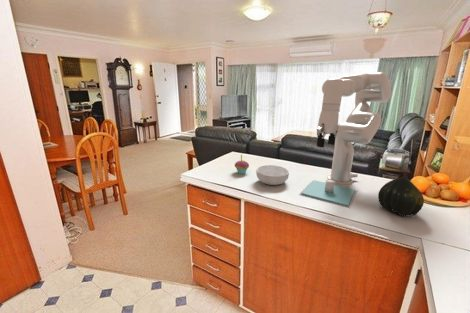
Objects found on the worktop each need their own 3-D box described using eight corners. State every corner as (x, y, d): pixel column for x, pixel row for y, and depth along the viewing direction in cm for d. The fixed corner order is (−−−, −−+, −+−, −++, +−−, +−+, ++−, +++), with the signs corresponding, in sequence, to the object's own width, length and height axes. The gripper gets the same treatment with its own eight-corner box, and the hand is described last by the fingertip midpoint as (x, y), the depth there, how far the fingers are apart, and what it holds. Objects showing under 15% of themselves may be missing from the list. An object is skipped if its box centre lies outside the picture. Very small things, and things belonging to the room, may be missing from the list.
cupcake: (247, 175, 134) (248, 155, 130) (233, 174, 135) (233, 154, 132) (249, 170, 142) (250, 151, 138) (235, 169, 143) (236, 150, 140)
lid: (313, 181, 125) (315, 171, 124) (355, 190, 114) (357, 179, 113) (301, 194, 109) (302, 183, 108) (347, 206, 98) (349, 194, 97)
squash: (395, 209, 86) (423, 179, 86) (365, 194, 100) (388, 167, 100) (413, 229, 91) (439, 200, 91) (382, 211, 105) (404, 186, 105)
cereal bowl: (249, 181, 125) (249, 169, 123) (269, 174, 135) (270, 163, 134) (274, 192, 113) (275, 178, 111) (294, 183, 123) (295, 170, 122)
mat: (312, 181, 127) (312, 180, 126) (357, 191, 115) (357, 190, 115) (298, 195, 109) (298, 194, 109) (349, 209, 97) (349, 208, 97)
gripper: (332, 107, 112) (327, 142, 116) (312, 107, 101) (308, 146, 106) (348, 108, 106) (342, 144, 111) (328, 109, 96) (323, 149, 100)
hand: (325, 145), depth 108 cm, fingers open, 9 cm apart
